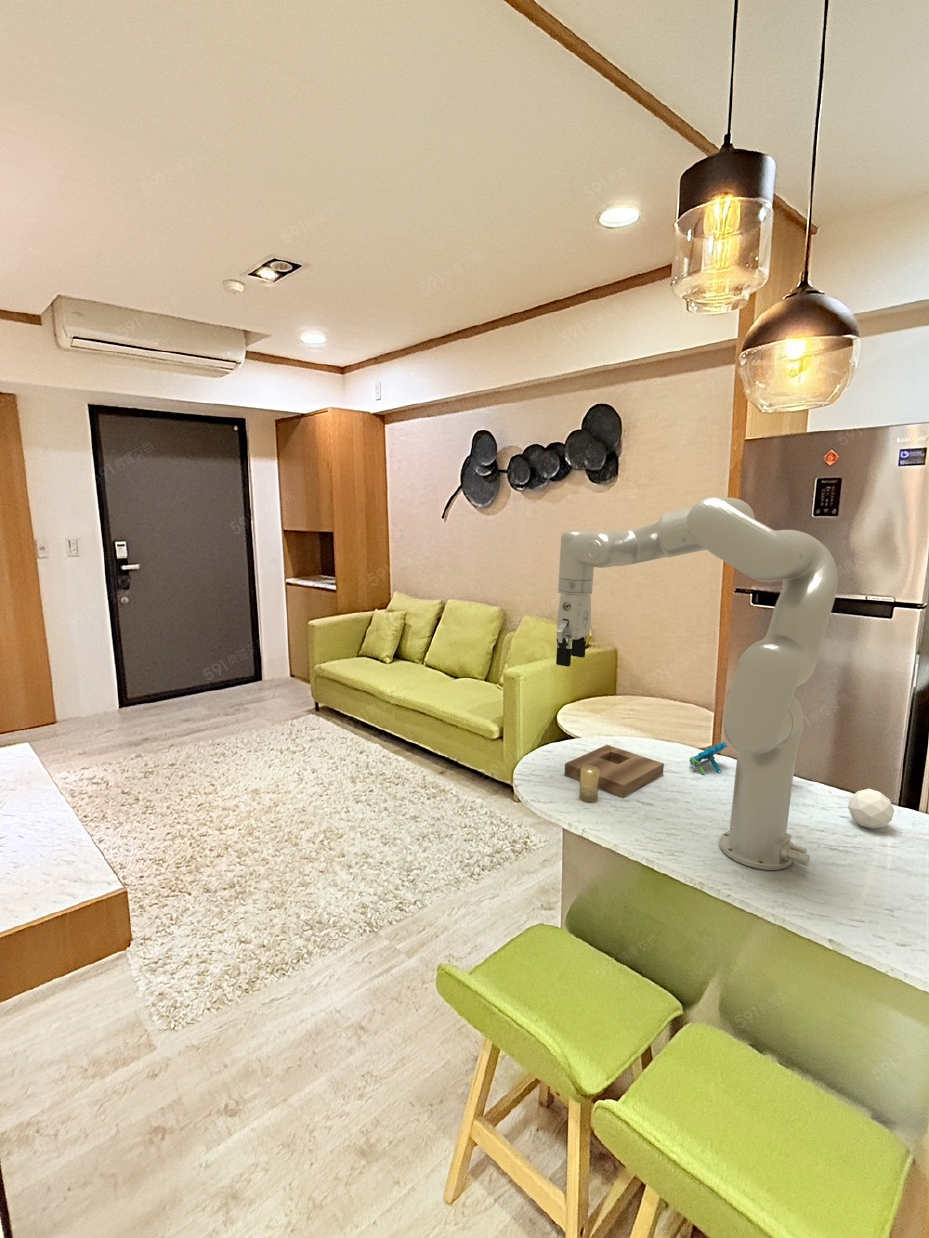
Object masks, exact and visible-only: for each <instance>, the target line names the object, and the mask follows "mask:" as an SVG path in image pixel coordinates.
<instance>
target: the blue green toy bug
mask: <svg viewBox="0 0 929 1238" xmlns="http://www.w3.org/2000/svg"><path fill="white" fill-rule="evenodd" d="M727 747H728V746H727V743H726V742H721V743H718V744H716V745H714V747H711V746H710V747H708V748H706V749H704V750H703V751H701V752H699V753H697V754H698V755H694V756H691V757H690V758H689V760H688V761H689V763H690V764H691V765H694V766H695V768H696V767H697V768H698V769H699V771H700V773H701V774H704V775H705V774H706V772H705V771H704V769H703V767H702V765H704V764H706V763H709V762H710V763H711V765H712V766H713V768H714V769H715V771H716V773H719V771H720V772H722V770H721V768H720V767H719V765H718V763H717V762H716V760H715V759H716V758H715V755H716V754H718V753H719V752H721V751H723V750H724V749H725V748H727Z"/></svg>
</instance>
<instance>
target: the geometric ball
mask: <svg viewBox="0 0 929 1238" xmlns="http://www.w3.org/2000/svg"><path fill="white" fill-rule="evenodd" d="M847 808H848V810H849V814H850V816H851V818H852V819H853V820H854V821H855V822H856V823H858V824H859V825H860V826H862V827H865V828H868V829H871V830H875V829H880V828H885V827H886V826H887V825H888V824H890V822H891V821H893V817H894V813H895V808H894V806H893V804H892V802H891V799H890V798H888V797H887V796H886V795H884V794H883V793H882V792H880V791H877V790H875V789H871V788H866V789H862V790H858V791H856V792H855V793H853V795H851V797H850V798H849V802H848V805H847Z"/></svg>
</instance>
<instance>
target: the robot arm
mask: <svg viewBox="0 0 929 1238" xmlns="http://www.w3.org/2000/svg"><path fill="white" fill-rule="evenodd" d="M700 551H708V552H709V553H711V554H713V555H714V556H715V557H716V558H718V559H720V560H722V561H723V562H725V563H726V564H727V565H730V566H731V567H732V568H734V569H736V570H738V571H739V572H741V573H742V574H744V575H745V576H747V577H749V578H751V579H753V580H756V581H759V582H764V583H775V582H780V581H782V589H781V592H780V593H779V596H778V599H777V600H776V603H775V606H774V609H773V612H772V616H771V620H770V624H769V625H768V629H767V632H766V634H765V636H764V638H762V639H761V640H758V641H756V642H754V643H753V644H751V645H750V646H749V647H747V648H746V650H745V651H744V652H743V653H742V655H741V657H740V659H739V661H738V663H737V666H736V669H735V672H734V677H733V679H732V684H731V687H730V690H729V694H728V697H727V701H726V704H725V708H724V712H723V718H722V728H723V733H724V735H725V737H726V739H727V741H728V742H729V744H730V745H731V746H732V747H733V748H734V749H736V750H737V757H736V763H735V764H736V765H735V766H736V767H735V773H734V774H735V775H734V784H733V793H732V794H733V795H732V804H731V811H730V812H731V814H730V822H729V830H727V831H725V832H723V833H722V834H721V835H720V836H719V841H718V842H719V843H718V844H719V847H720V849H721V851H722V852H723V853H724V854H725V855H726V856H728V857H729V858H730V859H732V860H733V861H735V862H737V863H739V864H741V865H745V866H747V867H751V868H754V869H757V870H767V871H772V870H773V871H778V870H783V869H786V868H788V867H790V866H792V864H793V862H795V863H798V864H800V865H803V866H805V867H807V866H808V865H809V863H810V860H811V859H810V858H811V856H810V855H809V854H807V848H805V847H803V846H798V845H796V844H794V842H792V834H790V833H788V832H787V829H788V821H789V813H790V806H791V798H792V789H793V782H794V777H795V776H794V774H795V766H796V759H797V756H798V755H797V754H798V751H799V745H800V741H801V736H802V732H803V729H804V711H803V708H802V705H801V703H800V701H799V700H798V699H797V698H796V697H795V696H794V694H795V691H796V688H798V687H800V686H801V685H803V684H805V683H806V682H807V681H808V680H809V679H810V678H811V677H812V675H813V674H814V672H815V669H816V665H817V661H818V658H819V654H820V651H821V648H822V644H823V641H824V638H825V634H826V631H827V628H828V627H827V626H828V623H829V619H830V617H831V613H832V611H833V606H834V604H835V600H836V597H837V596H836V595H837V591H838V584H839V575H838V568H837V565H836V562H835V558H834V557H833V555H832V553H831V552H830V551H829V549H828V548H827V547H826V546H825V545H824V544H823V543H822V541H819V540H818V539H817V538H816V537H814V536H812V535H810V534H809V533H806V532H804V531H799V530H795V529H780V530H775V529H773V528H771V527H769V526H767V525H765V524H763V523H762V522H760V521H758V520H756V518H755V514H754V511H753V509H752V508H751V506H750V505H749V504H748V503H747V502H745V501H744V500H743V499H739V498H735V497H726V496H725V497H722V496H712V497H707V498H703V499H701V500H699V501H698V502H697V503H695V504H694V505H693V506H692V507H688V508H684V509H679V510H675V511H672V512H671V511H670V512H667V513H663V514H662V515H661V516H660V517H659V519H658V521H656V522H654V523H652V524H649V525H644V526H641V527H636V528H633V529H629V530H623V531H622V530H614V531H613V530H611V531H595V532H592V531H589V530H565V531H564V532H563V533H562V534H561V537H560V549H559V567H558V568H559V569H558V584H557V587H558V588H557V589H558V590H557V593H559V594H560V595H559V596H560V597H559V602H558V611H557V620H556V621H557V622H556V623H557V624H556V657H555V658H556V660H555V663H556V664H555V665H556V666H562V667H570V666H571V664H572V657H575V658H581V659H582V658H583V659H584V658H585V657H586V647H587V646H586V644H587V641H586V640H587V635H588V634H589V633H591V627H592V625H591V623H592V599H591V597H592V596H591V595H593V585H594V570H595V569H594V568H599V569H600V568H601V569H603V568H605V569H606V568H613V567H622V566H630V565H635V564H640V563H643V562H649V561H653V560H659V559H663V558H672V557H673V558H674V557H677V556H683V555H687V554H692V553H696V552H700Z"/></svg>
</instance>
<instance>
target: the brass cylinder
mask: <svg viewBox="0 0 929 1238" xmlns="http://www.w3.org/2000/svg"><path fill="white" fill-rule="evenodd" d="M598 786H599V768H598V767H595V766H591V765H585V766H582V767H581V775H580V781H579V795H578V797H579V798H578V799H579V801H581V802H583V803H587V804H594V803H597V802H598V801H599V800H598V797H599V789H598Z"/></svg>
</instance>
